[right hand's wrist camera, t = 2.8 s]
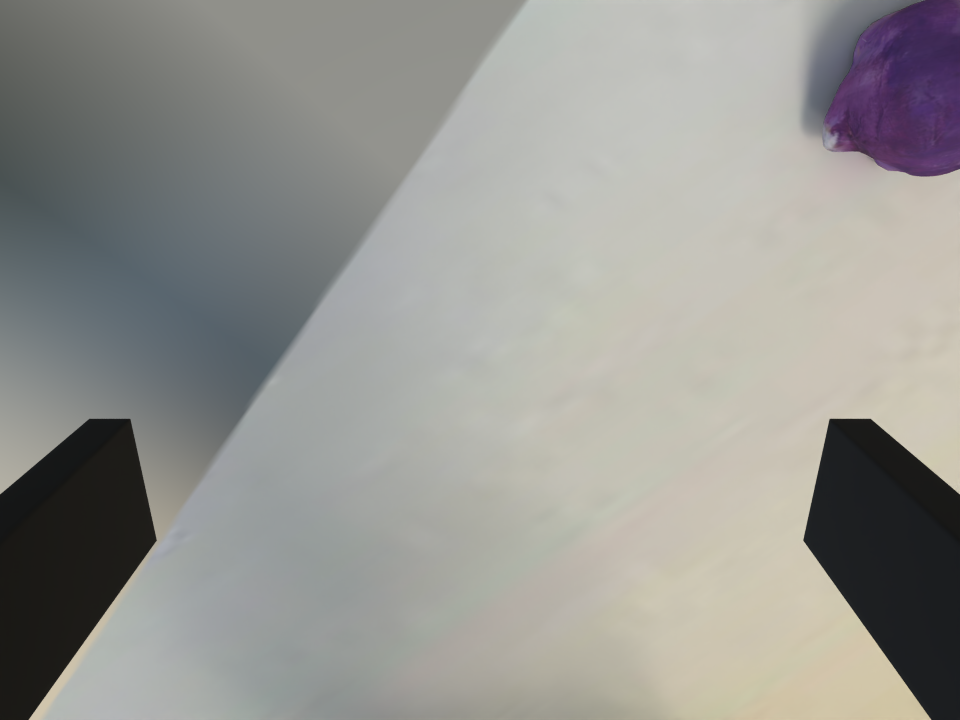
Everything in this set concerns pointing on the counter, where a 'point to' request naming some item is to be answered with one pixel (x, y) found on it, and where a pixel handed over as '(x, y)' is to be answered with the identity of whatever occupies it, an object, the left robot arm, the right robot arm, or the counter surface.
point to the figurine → (903, 92)
